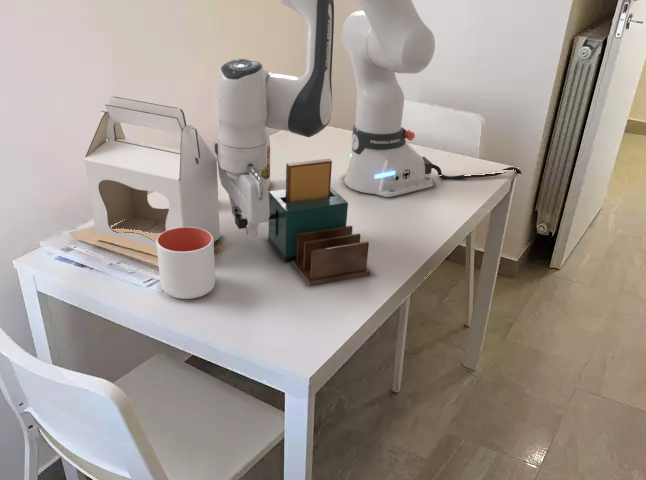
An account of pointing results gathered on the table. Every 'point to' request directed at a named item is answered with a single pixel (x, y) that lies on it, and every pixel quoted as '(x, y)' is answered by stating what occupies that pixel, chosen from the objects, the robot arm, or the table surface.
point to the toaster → (302, 219)
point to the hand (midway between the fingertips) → (244, 225)
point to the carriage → (242, 220)
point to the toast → (308, 180)
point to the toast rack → (331, 255)
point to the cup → (186, 262)
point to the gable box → (150, 174)
